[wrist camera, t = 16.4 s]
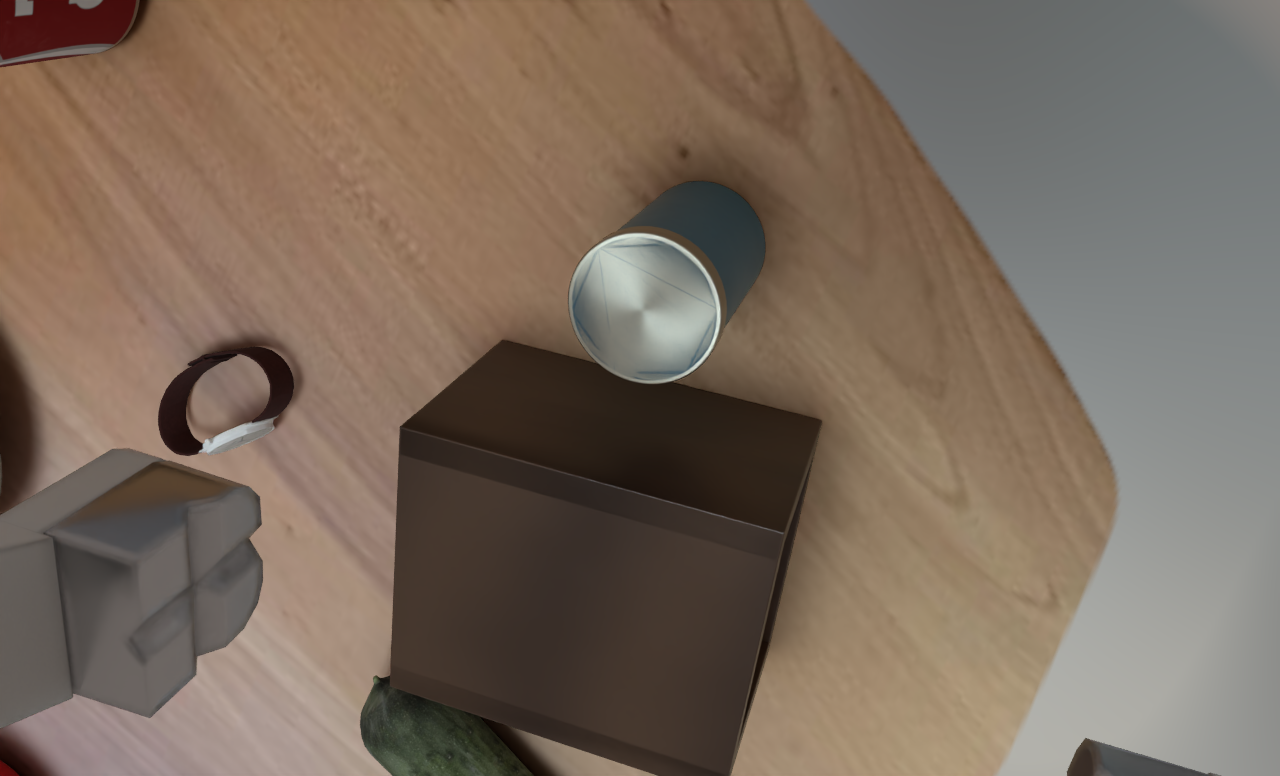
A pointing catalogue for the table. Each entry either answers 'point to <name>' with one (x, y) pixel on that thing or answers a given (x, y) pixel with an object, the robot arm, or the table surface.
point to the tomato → (6, 770)
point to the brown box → (595, 556)
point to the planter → (0, 474)
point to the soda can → (61, 28)
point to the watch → (185, 444)
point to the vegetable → (431, 737)
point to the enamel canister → (667, 283)
